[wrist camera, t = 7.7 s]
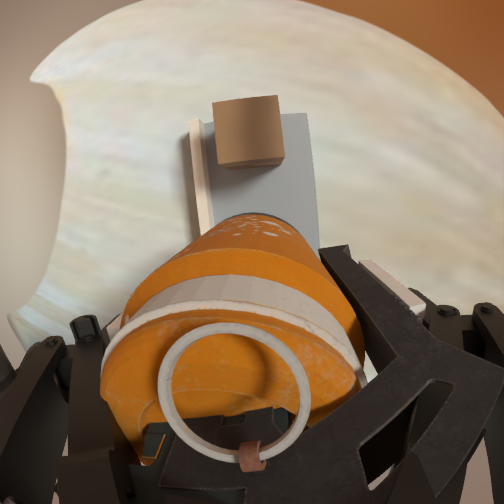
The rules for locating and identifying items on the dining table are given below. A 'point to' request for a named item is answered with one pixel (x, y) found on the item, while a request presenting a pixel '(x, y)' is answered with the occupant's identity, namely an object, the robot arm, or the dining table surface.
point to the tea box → (248, 132)
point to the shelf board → (257, 181)
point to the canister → (281, 376)
